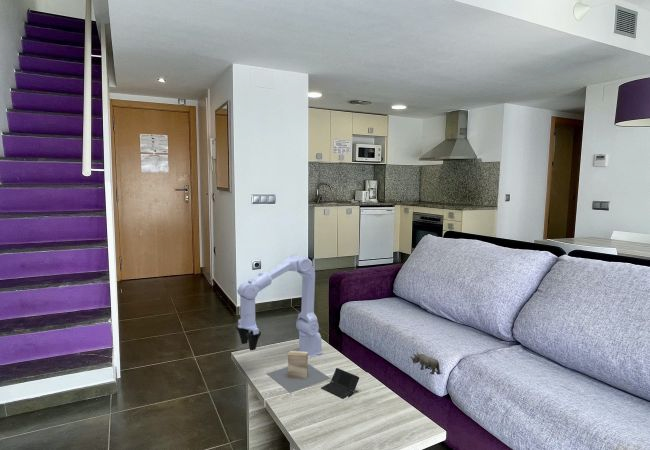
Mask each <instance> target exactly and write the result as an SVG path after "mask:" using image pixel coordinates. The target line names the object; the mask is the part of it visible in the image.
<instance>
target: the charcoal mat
mask: <svg viewBox="0 0 650 450" xmlns="http://www.w3.org/2000/svg"><path fill="white" fill-rule="evenodd" d="M265 374H266V375H267V376H268V377H269V378H271V379H272V380H273V381H275V382H276V383H277V384H278V385H279V386H281V387H282V388H283V389H285V391H287V392H288V393H290V394H291V393H294V392H297V391H299V390H300V391H301V390H302V389H306V388H308V387H311V386H314V385H317V384H319V383H322V382H325V381H328V380H332V378H331V377H330V376H328V375H327V374H325V373H323V372H322V371H321V370H319V369H318V368H316V367H314V366H312V365H311V364H309V363H308V375H307V378H306V379H304V378H288V366H287V367H282V368H280V369H277V370H276V369H275V370H273V371H270V372H266V373H265Z"/></svg>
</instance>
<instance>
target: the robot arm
mask: <svg viewBox="0 0 650 450" xmlns="http://www.w3.org/2000/svg"><path fill="white" fill-rule="evenodd" d="M287 272H297V273H298V274H299V275H300V276H301V277H302V278H301V280H302V281H301V311H300V312H299V313H298V315H297V320H296V323H295V326H296V329H297V330H298V334H299V335H298V337H299V338H298V343H299V345H298V347H299V348H298V350H297V351H299V352H308V358H310V357H312V356H316V355H317V356H318V355H321V354H323V351H322V336H321V333H320V332H319V330H320V326H319V322H318V318H317V315H316V314H315V293H316V292H315V291H316V290H315V287H316V285H315V284H316V271H315V269H314V266H313V261H312V260H311V259H309V257H304V256H301V255H297V254H292V255H290V256H289V257H286V258H285V259H284V261H282V262H280V263H279V264H277V266H275V267H274V268H272V269H270V271H268V272H266V271H263V272H262V271H260V272H258V273H257V275H256V276H255V277H253V278H250V279H248V281H244V282H242V283H240V284H239V286H238V289H236V291H237V294H238V295H239V296H240V297H239V302H240V303H239V304H240V306H239V307H240V312H239V313H240V318H239V319H238V320H237V321H238V322H237V323H238V324H237V326H235V329H236V330H237V333H238V335H239V339H240V343H241V344H242V345H244V344H247V343H248V348H249V350H250V351H255V350H256V348H257V344H258V340H259V338H260V336H261V334H262V332H261V331H260V329H259V328H258V325H257V323H256V297H258V293H259V292H261V291H263V290H264V289H266V288H267V287H268V286H270V285H271V284H272V281H273V280H275V279H276V278H278V277H280V276H281V275H283V274H285V273H287Z"/></svg>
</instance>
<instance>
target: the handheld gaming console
mask: <svg viewBox="0 0 650 450" xmlns="http://www.w3.org/2000/svg"><path fill="white" fill-rule="evenodd" d="M333 372H334V373H333V375H332V378H331V379H330V381H329V383H327V384H325V385H323V386H322V387H320V389H321V390H323V391H325V392H327V393H330V394H331V395H333V396H336V397H337V398H339V399H341V400H344V399H346V398H351V397H352V396H354V395H355V390H356V388H357V386H358V383H359V380H360V377H359V376H358V375H356V374H354V373H351V372H348V371H346V370H343V369H341V368H338V367H336V368H335V370H334V371H333Z"/></svg>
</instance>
